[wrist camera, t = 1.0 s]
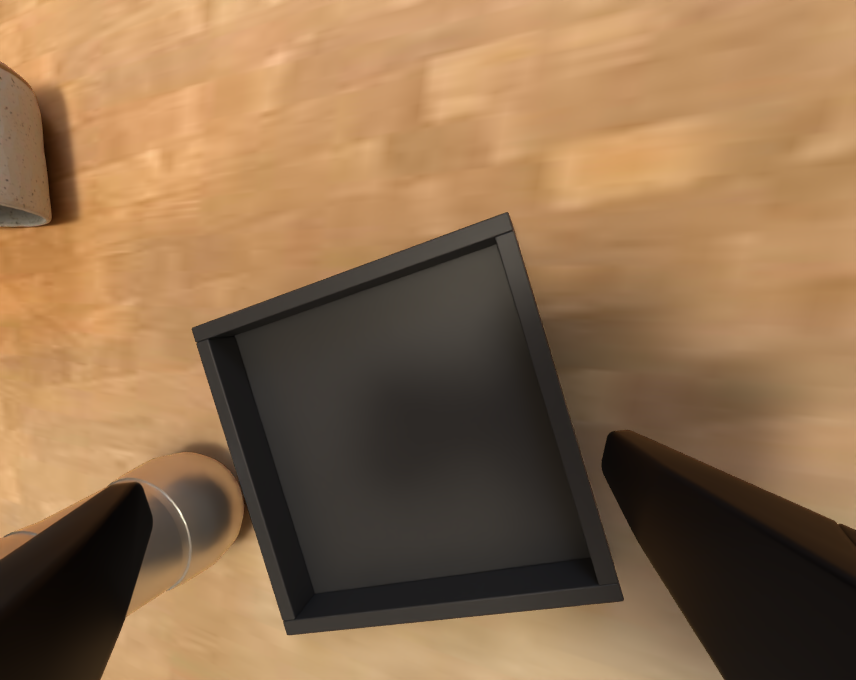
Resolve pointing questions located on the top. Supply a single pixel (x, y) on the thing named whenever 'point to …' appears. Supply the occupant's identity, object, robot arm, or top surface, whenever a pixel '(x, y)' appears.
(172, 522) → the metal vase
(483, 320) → the tray
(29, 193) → the ceramic mug
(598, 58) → the top surface
